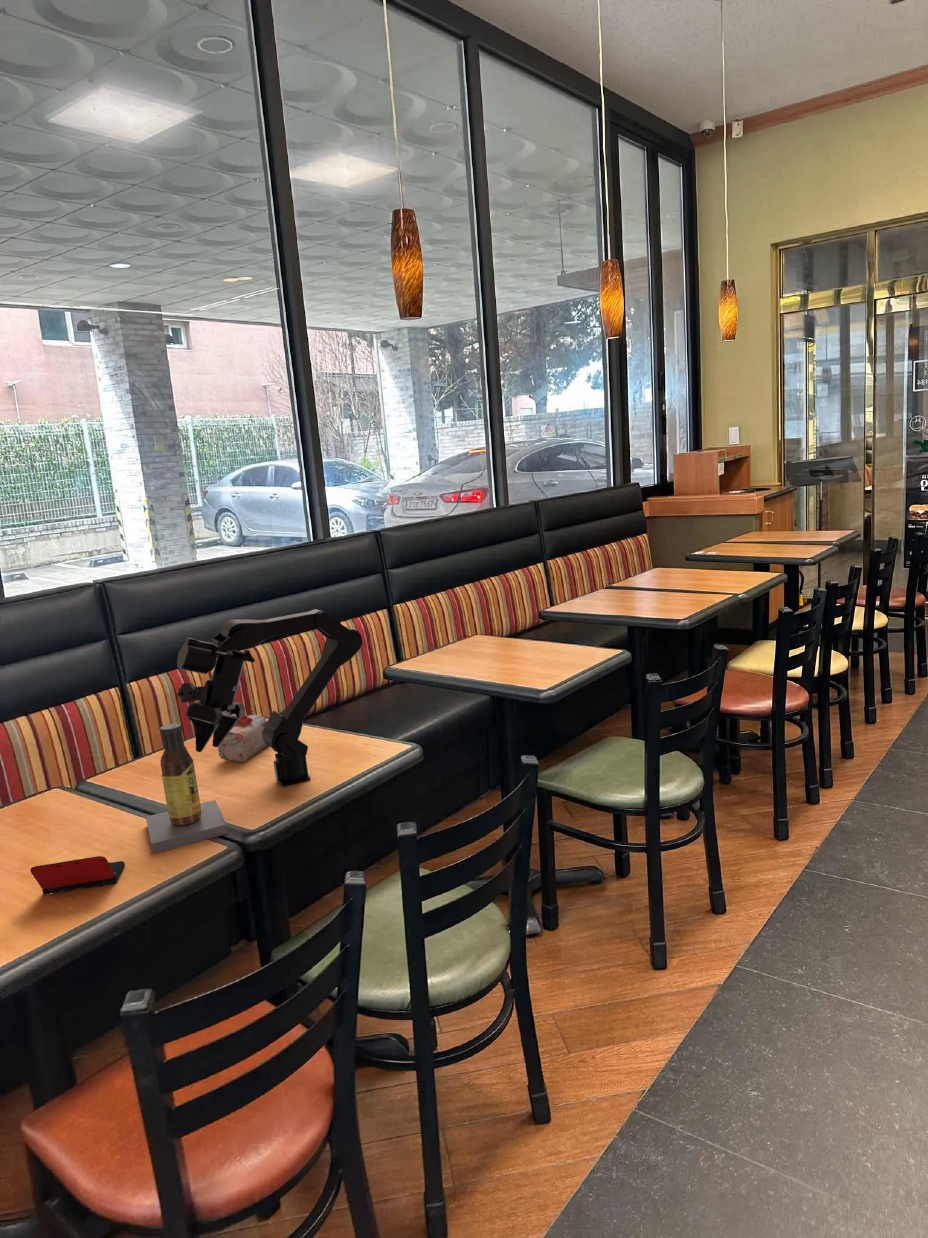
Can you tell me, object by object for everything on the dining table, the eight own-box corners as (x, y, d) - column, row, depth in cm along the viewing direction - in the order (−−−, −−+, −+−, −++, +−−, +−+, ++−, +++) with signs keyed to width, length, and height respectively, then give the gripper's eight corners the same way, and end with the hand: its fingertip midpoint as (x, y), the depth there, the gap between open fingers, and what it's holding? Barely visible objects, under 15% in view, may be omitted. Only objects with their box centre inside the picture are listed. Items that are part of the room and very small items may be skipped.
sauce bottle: (202, 823, 165) (187, 728, 161) (169, 830, 163) (152, 734, 159) (202, 810, 171) (187, 718, 167) (170, 817, 169) (154, 724, 165)
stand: (216, 808, 176) (215, 799, 176) (227, 833, 164) (226, 824, 163) (147, 825, 171) (145, 816, 170) (153, 853, 158) (151, 843, 158)
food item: (246, 765, 200) (240, 726, 198) (217, 764, 202) (211, 726, 200) (273, 745, 213) (268, 708, 211) (246, 744, 215) (241, 708, 213)
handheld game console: (127, 865, 155) (120, 828, 153) (112, 895, 145) (104, 856, 143) (56, 876, 153) (48, 839, 152) (36, 907, 143) (27, 867, 141)
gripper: (206, 667, 187) (188, 735, 187) (172, 669, 169) (152, 744, 168) (253, 680, 186) (235, 748, 186) (223, 683, 168) (203, 758, 167)
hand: (206, 749), depth 177 cm, fingers open, 9 cm apart
